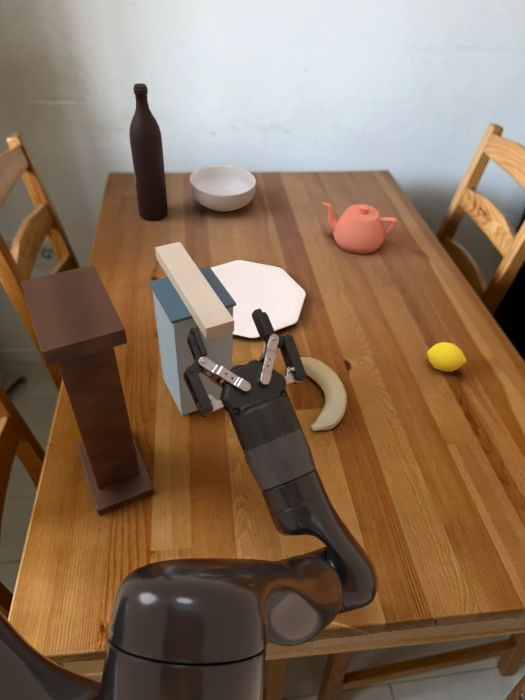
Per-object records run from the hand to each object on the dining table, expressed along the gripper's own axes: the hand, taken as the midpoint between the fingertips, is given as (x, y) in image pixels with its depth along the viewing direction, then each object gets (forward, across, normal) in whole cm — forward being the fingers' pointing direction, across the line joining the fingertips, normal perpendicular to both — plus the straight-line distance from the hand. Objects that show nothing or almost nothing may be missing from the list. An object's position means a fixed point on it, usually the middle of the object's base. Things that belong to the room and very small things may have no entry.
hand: (224, 320), depth 64 cm
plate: (+13, -18, +36) cm, 43 cm away
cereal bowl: (+46, -30, +56) cm, 78 cm away
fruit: (-11, -18, +22) cm, 31 cm away
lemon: (-15, -43, +20) cm, 50 cm away
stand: (-11, +17, +22) cm, 30 cm away
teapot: (+22, -52, +41) cm, 70 cm away
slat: (+8, 0, +9) cm, 12 cm away
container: (-2, 0, +27) cm, 28 cm away
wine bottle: (+48, -12, +56) cm, 75 cm away
